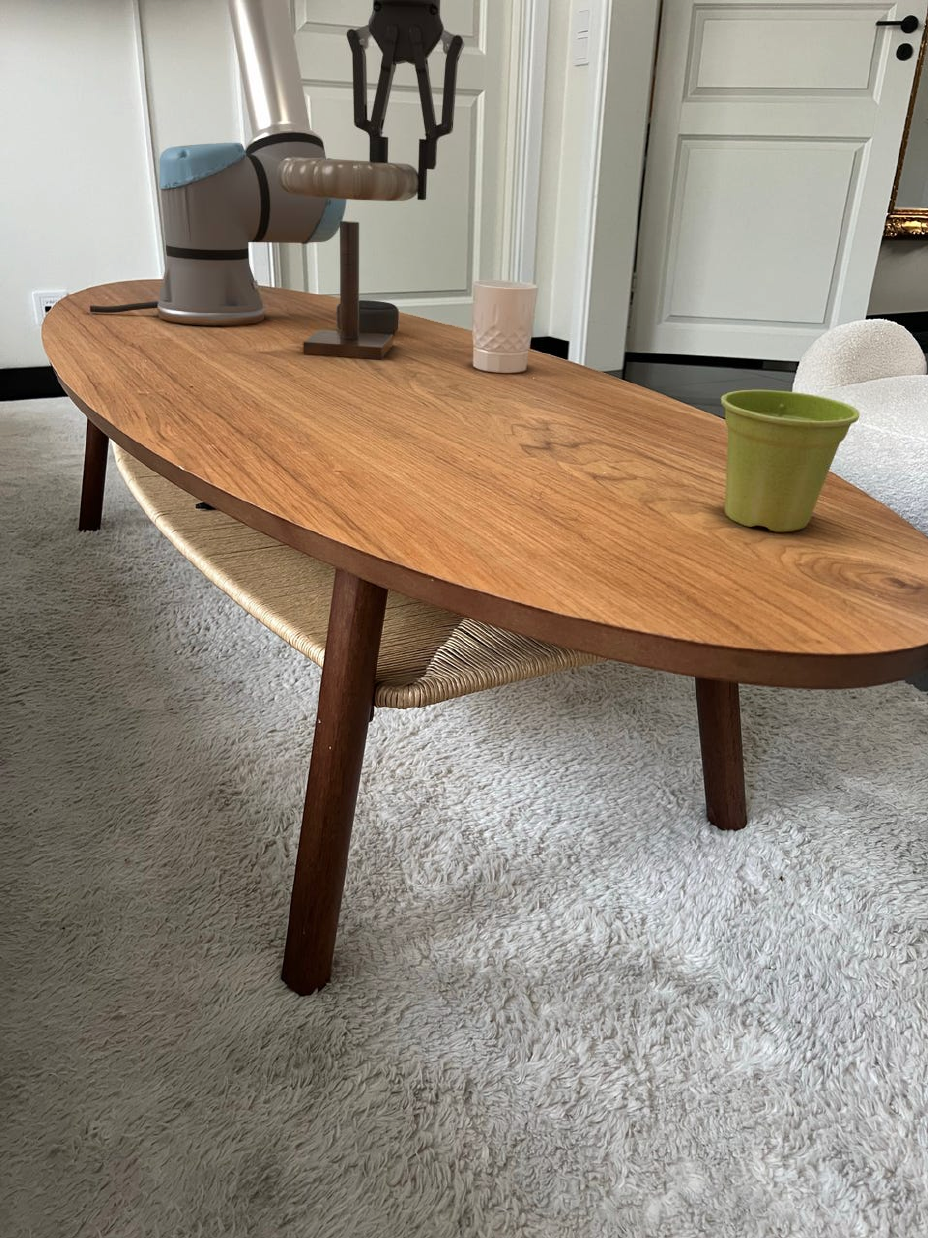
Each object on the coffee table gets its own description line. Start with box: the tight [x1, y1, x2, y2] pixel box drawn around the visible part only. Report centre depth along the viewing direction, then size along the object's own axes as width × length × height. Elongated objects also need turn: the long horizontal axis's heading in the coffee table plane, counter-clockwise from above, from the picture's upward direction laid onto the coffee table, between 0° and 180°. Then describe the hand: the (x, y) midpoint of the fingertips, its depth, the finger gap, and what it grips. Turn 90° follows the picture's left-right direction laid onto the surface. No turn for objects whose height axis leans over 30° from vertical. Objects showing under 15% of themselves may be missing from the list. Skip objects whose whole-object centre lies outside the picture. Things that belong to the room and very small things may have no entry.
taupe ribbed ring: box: [277, 157, 418, 202], centre depth 110 cm, size 17×17×4 cm
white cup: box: [471, 279, 539, 374], centre depth 111 cm, size 8×8×10 cm
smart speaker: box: [336, 299, 400, 335], centre depth 130 cm, size 9×9×4 cm
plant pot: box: [720, 389, 860, 533], centre depth 66 cm, size 9×9×9 cm
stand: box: [302, 220, 394, 360], centre depth 115 cm, size 10×10×16 cm
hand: (402, 197), depth 110 cm, fingers closed on taupe ribbed ring, 4 cm apart
